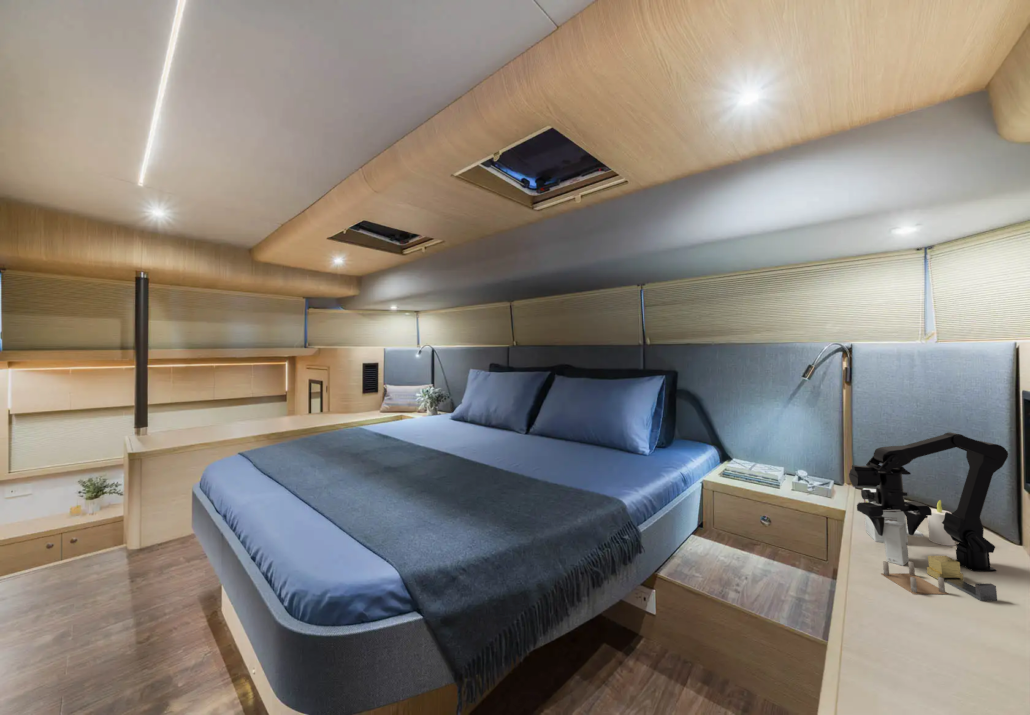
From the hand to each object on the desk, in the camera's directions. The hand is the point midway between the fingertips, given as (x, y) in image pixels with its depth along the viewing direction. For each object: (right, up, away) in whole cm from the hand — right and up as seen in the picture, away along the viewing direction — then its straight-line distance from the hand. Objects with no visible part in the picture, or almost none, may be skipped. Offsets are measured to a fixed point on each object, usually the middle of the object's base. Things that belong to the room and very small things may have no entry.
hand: (895, 535), depth 129 cm
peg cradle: (-8, -8, -14) cm, 18 cm away
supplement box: (+12, -9, +16) cm, 21 cm away
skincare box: (0, -9, 0) cm, 9 cm away
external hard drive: (+21, -9, +22) cm, 32 cm away
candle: (+27, -8, +11) cm, 31 cm away
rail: (+3, -8, -16) cm, 18 cm away
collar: (+4, -8, -11) cm, 14 cm away
